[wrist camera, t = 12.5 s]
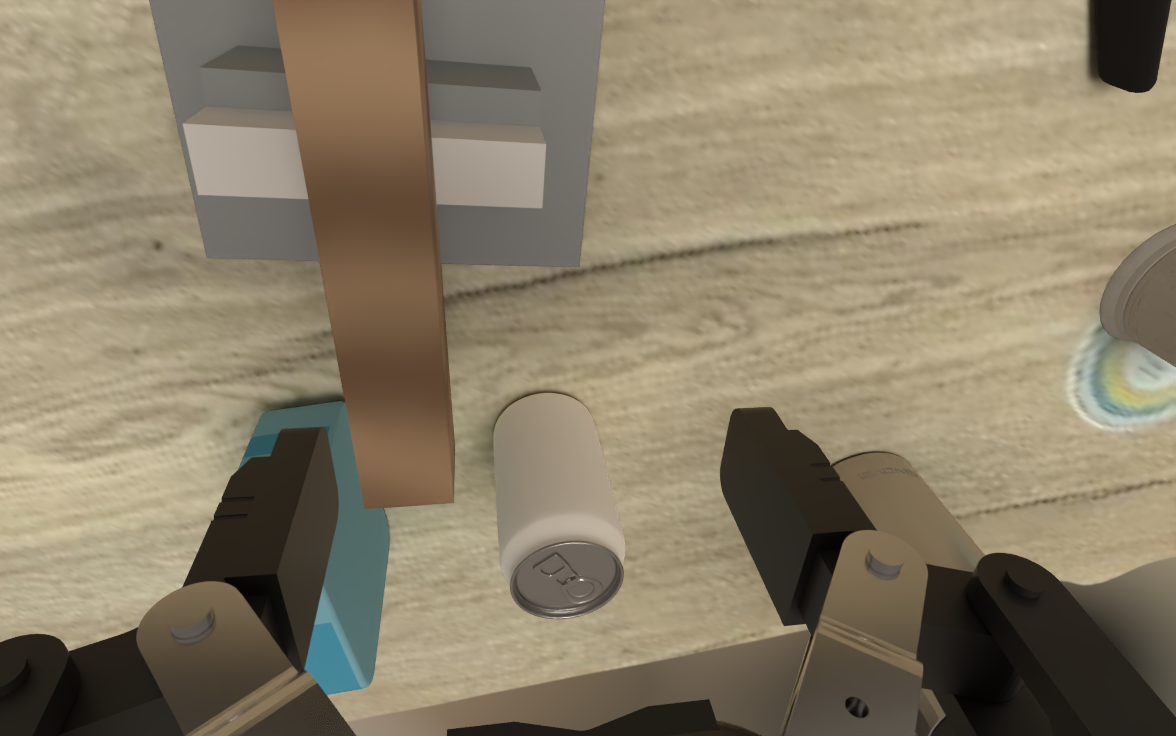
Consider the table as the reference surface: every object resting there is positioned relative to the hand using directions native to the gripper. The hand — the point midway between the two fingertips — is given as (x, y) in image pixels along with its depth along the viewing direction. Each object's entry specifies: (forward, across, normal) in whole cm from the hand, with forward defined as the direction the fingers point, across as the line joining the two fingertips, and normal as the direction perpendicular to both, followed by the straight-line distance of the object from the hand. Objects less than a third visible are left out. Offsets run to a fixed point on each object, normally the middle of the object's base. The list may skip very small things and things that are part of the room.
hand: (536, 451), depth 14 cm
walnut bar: (+14, +4, -2) cm, 15 cm away
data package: (+24, +10, +20) cm, 33 cm away
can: (+24, -3, +18) cm, 30 cm away
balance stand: (+23, +4, -2) cm, 24 cm away
